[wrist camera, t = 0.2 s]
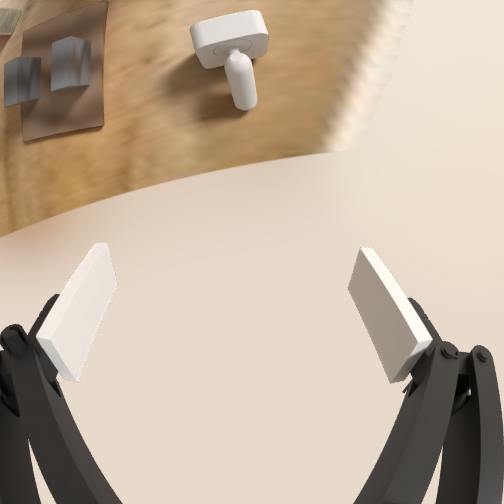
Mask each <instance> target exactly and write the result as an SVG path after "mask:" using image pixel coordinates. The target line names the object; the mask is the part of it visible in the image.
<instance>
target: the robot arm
mask: <svg viewBox="0 0 504 504" xmlns="http://www.w3.org/2000/svg"><path fill="white" fill-rule="evenodd" d="M117 286H118V284H117V281H116V277H115V273H114V269H113V265H112V260H111V256H110V252H109V247H108V243H95V244H94V245H93V247H92V248H91V250H90V251H89V252H88V254H87V255H86V256H85V258H84V259H83V261H82V262H81V263H80V265H79V266H78V268H77V269H76V271H75V272H74V274H73V275H72V277H71V278H70V280H69V281H68V283H67V284H66V286H65V288H64V289H63V291H62V292H61V294H55V295H54V296H53V297H51V298H50V299H49V300H48V301H47V303H46V305H45V306H44V308H43V310H42V311H41V313H40V314H39V317H38V318H37V320H36V321H35V323H34V325H33V326H32V328H31V330H30V332H29V334H28V335H27V334H26V333H25V331H24V329H23V328H22V326H20V325H19V324H13V325H9V326H8V327H6V328H5V329H4V330H3V331H2V332H1V334H0V345H1V346H2V347H3V349H4V350H2V351H0V504H41V501H40V498H39V494H38V490H37V486H36V482H35V477H34V473H33V467H32V462H31V456H30V450H29V442H30V445H31V448H32V450H33V453H34V456H35V458H36V461H37V463H38V466H39V468H40V470H41V473H42V475H43V477H44V480H45V482H46V484H47V486H48V488H49V490H50V492H51V494H52V496H53V498H54V500H55V502H56V504H122V502H121V501H120V500H119V498H118V497H117V495H116V494H115V492H114V491H113V489H112V488H111V486H110V485H109V483H108V482H107V480H106V479H105V477H104V475H103V474H102V472H101V470H100V469H99V467H98V465H97V464H96V462H95V461H94V458H93V457H92V455H91V453H90V451H89V449H88V448H87V446H86V444H85V442H84V440H83V438H82V436H81V434H80V432H79V430H78V428H77V425H76V423H75V421H74V419H73V417H72V415H71V412H70V410H69V408H68V405H67V403H66V401H65V398H64V395H63V393H62V390H61V388H60V385H59V382H58V381H57V379H56V376H57V373H58V372H59V374H60V375H61V376H62V378H63V379H64V380H67V381H72V382H77V383H78V381H79V378H80V375H81V373H82V370H83V367H84V364H85V362H86V359H87V356H88V354H89V351H90V349H91V346H92V343H93V341H94V338H95V336H96V333H97V331H98V328H99V326H100V324H101V322H102V319H103V317H104V315H105V312H106V310H107V308H108V305H109V303H110V301H111V299H112V297H113V295H114V292H115V290H116V288H117ZM348 290H349V292H350V294H351V296H352V298H353V300H354V302H355V305H356V307H357V309H358V311H359V313H360V315H361V317H362V320H363V322H364V324H365V326H366V328H367V330H368V333H369V335H370V337H371V339H372V342H373V344H374V346H375V348H376V351H377V353H378V355H379V358H380V360H381V362H382V365H383V367H384V370H385V372H386V374H387V377H388V379H389V382H390V383H395V382H400V381H404V380H405V379H406V377H407V376H408V375H409V373H411V375H412V378H413V379H412V380H411V381H410V383H409V384H408V385H407V386H406V388H405V389H404V390H403V393H405V392H406V390H407V392H406V395H405V398H404V401H403V403H402V406H401V408H400V411H399V414H398V416H397V419H396V421H395V424H394V426H393V428H392V431H391V433H390V435H389V438H388V440H387V442H386V444H385V446H384V448H383V451H382V453H381V455H380V457H379V459H378V461H377V463H376V465H375V467H374V469H373V471H372V472H371V474H370V476H369V478H368V480H367V482H366V483H365V485H364V487H363V489H362V490H361V492H360V494H359V496H358V497H357V499H356V500H355V502H354V503H353V504H421V503H422V501H423V498H424V496H425V494H426V491H427V489H428V486H429V484H430V481H431V479H432V476H433V473H434V471H435V468H436V465H437V462H438V459H439V456H440V453H441V449H442V446H443V452H442V463H441V472H440V479H439V486H438V493H437V498H436V503H435V504H502V503H501V502H502V493H503V480H504V436H503V422H502V411H501V403H500V395H499V390H498V383H497V377H496V372H495V367H494V362H493V358H492V355H491V353H490V352H489V350H488V349H486V348H485V347H483V346H481V345H477V346H475V347H474V348H473V349H472V350H471V352H470V353H466V352H459V351H458V349H457V348H456V347H455V346H454V345H453V344H451V343H450V342H446V341H442V339H441V338H440V336H439V334H438V333H437V331H436V330H435V328H434V326H433V325H432V323H431V322H430V320H428V317H427V315H426V314H424V311H423V309H422V308H421V306H420V305H419V304H418V303H417V302H416V301H415V300H413V299H412V298H407V297H406V296H405V294H404V293H403V291H402V290H401V288H400V287H399V285H398V284H397V282H396V281H395V279H394V278H393V276H392V275H391V274H390V272H389V271H388V269H387V268H386V267H385V265H384V264H383V262H382V261H381V259H380V258H379V257H378V255H377V254H376V253H375V251H374V250H373V248H360V249H359V253H358V256H357V260H356V263H355V267H354V270H353V273H352V277H351V280H350V283H349V287H348ZM469 390H471V395H470V394H469ZM28 439H29V442H28Z"/></svg>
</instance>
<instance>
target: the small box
mask: <svg viewBox="0 0 504 504" xmlns="http://www.w3.org/2000/svg"><path fill="white" fill-rule="evenodd" d="M21 11H22V10H18V9H11V8H4V7H0V35H12V33H13V31H14V28H15V26H16V23H17V21H18V18H19V16H20V14H21Z"/></svg>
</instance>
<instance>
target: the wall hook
mask: <svg viewBox="0 0 504 504" xmlns="http://www.w3.org/2000/svg"><path fill="white" fill-rule="evenodd" d="M190 33H191V37H192V41H193V45H194V49H195V52H196V55H197V57H198V58H199V60H200V62H201V64H202V66H203V67H204V68H207V69H209V68H215V67H219V66H223V65H224V68H225V72H226V76H227V79H228V83H229V86H230V90H231V93H232V97H233V100H234V104H235V106H236V107H237V108H238V109H241V110H249V109H252V108H253V107H255V105H256V104H257V94H256V87H255V80H254V74H253V67H252V62H251V60H250V59H254V58H258V57H261V56H263V55H265V54H266V51H267V45H268V38H269V35H268V32H267V29H266V26H265V24H264V21H263V18H262V15H261V13H260V12H259V11H256V10H248V11H243V12H238V13H233V14H228V15H224V16H220V17H216V18H212V19H208V20H204V21H201V22H198V23H195V24H194V25H192V26H191V27H190Z"/></svg>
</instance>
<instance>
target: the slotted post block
mask: <svg viewBox="0 0 504 504" xmlns="http://www.w3.org/2000/svg"><path fill="white" fill-rule="evenodd" d="M107 9H108V2H107V1H103V2H99V3H96V4H92V5H89V6H86V7H83V8H80V9H77V10H74V11H71V12H68V13H66V14H63V15H60V16H58V17H55V18H53V19H50V20H48V21H46V22H43V23H41V24H39V25H37V26H34V27H32V28H30V29H28V30H26V31H24V33H23V42H22V55H21V57H18V58H16V59H13V60H11V61H9V62H7V63H6V64H5V68H4V107H5V108H6V107H10V106H14V105H18V104H21V116H22V129H23V139H24V142H25V141H28V140H32V139H36V138H40V137H44V136H49V135H53V134H58V133H63V132H68V131H73V130H78V129H84V128H90V127H96V126H102V125H104V106H103V62H104V41H105V28H106V18H107Z"/></svg>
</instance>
